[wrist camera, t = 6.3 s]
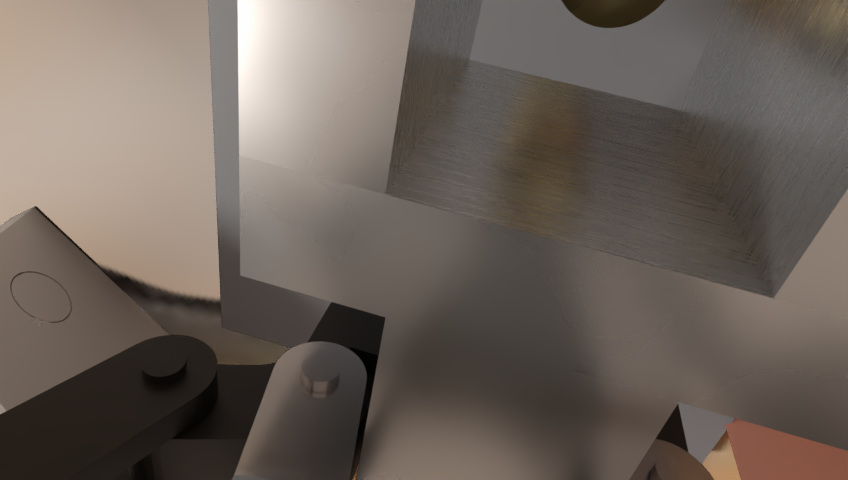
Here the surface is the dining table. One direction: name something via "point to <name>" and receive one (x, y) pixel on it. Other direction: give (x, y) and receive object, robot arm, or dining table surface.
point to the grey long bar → (554, 231)
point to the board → (493, 44)
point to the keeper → (783, 455)
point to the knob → (611, 11)
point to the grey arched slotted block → (57, 310)
